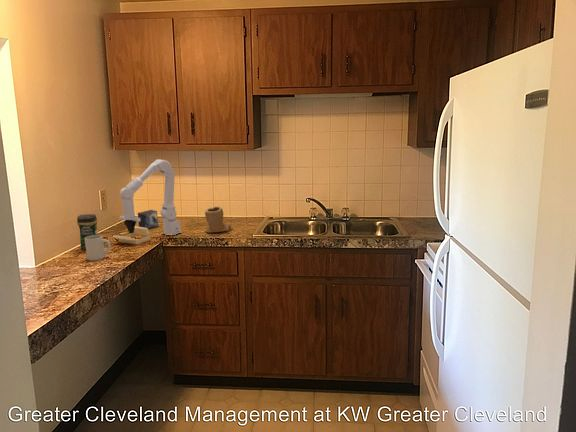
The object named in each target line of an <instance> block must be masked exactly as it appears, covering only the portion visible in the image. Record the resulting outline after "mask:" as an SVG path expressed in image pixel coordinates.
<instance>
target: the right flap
mask: <svg viewBox="0 0 576 432" xmlns="http://www.w3.org/2000/svg"><path fill="white" fill-rule="evenodd" d="M149 230H150V229H148V228H144V227H139V226H137V225H135V228H134V234H141V235H148V236H150V234H151V233H150V231H149Z"/></svg>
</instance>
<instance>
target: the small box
mask: <svg viewBox="0 0 576 432" xmlns="http://www.w3.org/2000/svg"><path fill="white" fill-rule="evenodd" d="M137 217H139V218H140V220H141V221H139V222H138V227H144V228H148V230H150V229H149V228H152V229H155V228H158V227H159V217H158V211H157V210H154V209H149V210H144V211H141V212H137ZM154 227H155V228H154Z"/></svg>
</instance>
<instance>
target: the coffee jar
mask: <svg viewBox="0 0 576 432" xmlns="http://www.w3.org/2000/svg"><path fill="white" fill-rule="evenodd" d="M76 217H77V220H76V221H77V222H76V223H77V225H78V228H79V234H80V235H79V236H80V237H79V239H80V241H79V242H80V249H81V250H86V246H85V237H88V236H92V235H99V232H98V227H97V225H98V218H97V215H96V214H95V213H94V214H92V213H91V214H79V215H78V216H76Z"/></svg>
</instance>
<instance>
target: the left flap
mask: <svg viewBox="0 0 576 432" xmlns="http://www.w3.org/2000/svg"><path fill="white" fill-rule="evenodd" d="M124 236H125V235H124ZM124 236H123V235H113V236H112V238H113V239H118V240H119V239H126V240H135V238H131V237H124Z"/></svg>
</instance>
